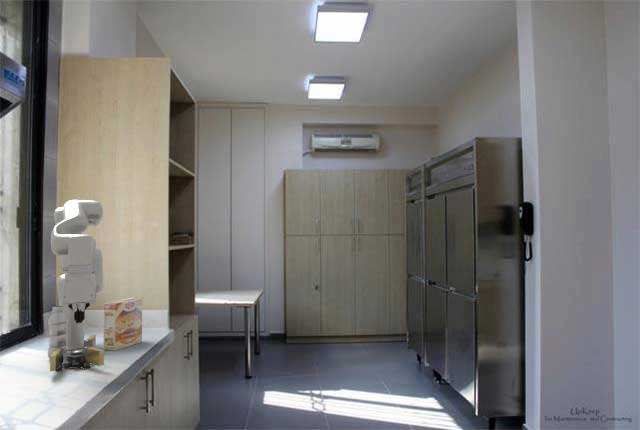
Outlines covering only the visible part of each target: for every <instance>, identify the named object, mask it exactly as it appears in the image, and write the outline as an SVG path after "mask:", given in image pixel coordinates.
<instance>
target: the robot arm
mask: <svg viewBox="0 0 640 430" xmlns="http://www.w3.org/2000/svg"><path fill="white" fill-rule="evenodd" d="M103 215H104V208H103V205H102V204H101V202H100V201H97V200H94V199H93V200H90V199H89V200H85V199H72V200H71V199H70V200H68V201H67V202H65V203H64V205H63V206H61V207H57V208H56V209H55V211H54V212H53V218H54V219H53V220H54V224H55V226H54V227H53V229H52V231H51V234H50V249H51V252H52V253H53V255H56V256H60V264H61V266H62V272H65V273H62V274H61V275H59V276H58V277H57V279H56V288H57V294H58V306H63V307H64V308H63V310H64V311H63V313H64V314H65V316H66V317H67V326H66V345H67V350H68V351H75V350H79V349H83V347H84V340H85V319H86V318H85V315H86V314H85V313H86V312H85V311H86V309H88V308H89V307H92V306H94V305H96V304H97V303H98V301H97V294H98V293H101V292H102V290H103V288H104V268H103V267H104V265H103V263H104V262H103V261H104V260H103V254H102V250H101V249H100V248H99V247H97V241H96V239H95V237H94V236H93V235H92V234H84V232H85V231H86V230H87V229H88V227H96V226H98V225H99V224H100V222H101V220H102V219H103V217H104V216H103Z"/></svg>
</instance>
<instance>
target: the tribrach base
mask: <svg viewBox="0 0 640 430" xmlns="http://www.w3.org/2000/svg"><path fill="white" fill-rule="evenodd" d="M82 356H83V349H82V348H80V349H74V350H71V351H68V352H67V353H65V354H63V363H62V370H67V368H68V369H71V368H70V367H77V368H80V367H83V362H82ZM64 362H65V363H64Z"/></svg>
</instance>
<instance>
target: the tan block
mask: <svg viewBox="0 0 640 430" xmlns="http://www.w3.org/2000/svg"><path fill="white" fill-rule="evenodd" d="M82 350H83V356H82V362H83V368H84V369H83V368H82V369H83V370H88V368H89V369H91V365H95V366H98V367H101V366H104V365H105V349H101V348H96V347H95V348H93V347H91V346H85V347H83V348H82Z"/></svg>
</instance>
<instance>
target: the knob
mask: <svg viewBox="0 0 640 430" xmlns="http://www.w3.org/2000/svg"><path fill="white" fill-rule="evenodd" d="M96 336H97V334H90V335H89V336H88V337H87V338H86V339H84V347H85V346H91V347H93V348H96V346H97V344H96V340H97V339H96Z"/></svg>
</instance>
